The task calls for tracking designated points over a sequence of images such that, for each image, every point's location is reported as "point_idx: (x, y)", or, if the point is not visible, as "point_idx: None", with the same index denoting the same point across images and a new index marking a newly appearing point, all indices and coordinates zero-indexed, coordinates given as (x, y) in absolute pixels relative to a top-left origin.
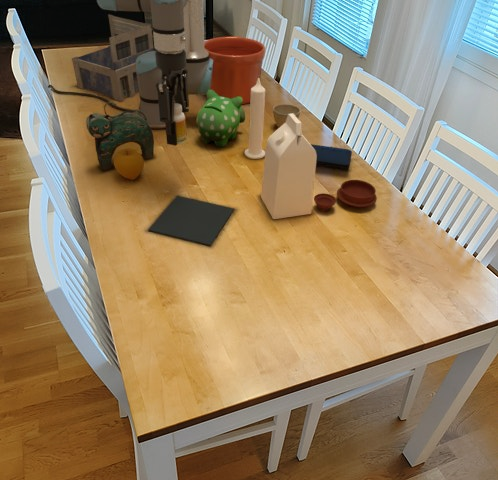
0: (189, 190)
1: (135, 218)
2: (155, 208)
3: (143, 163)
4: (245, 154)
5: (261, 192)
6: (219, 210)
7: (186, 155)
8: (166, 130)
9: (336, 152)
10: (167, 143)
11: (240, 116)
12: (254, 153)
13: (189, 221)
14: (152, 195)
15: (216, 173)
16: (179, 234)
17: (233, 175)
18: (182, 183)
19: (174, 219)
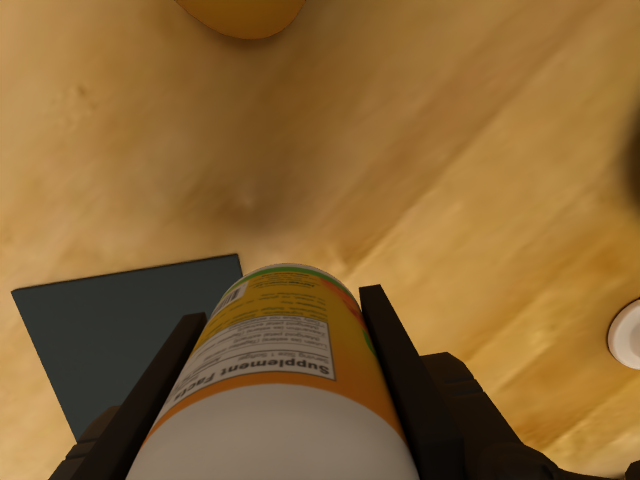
0: None
1: (35, 208)
2: (130, 230)
3: (275, 29)
4: (627, 311)
5: None
6: None
7: (543, 96)
8: (76, 450)
9: None
10: (182, 321)
11: None
12: (635, 348)
13: (136, 371)
14: (191, 167)
15: (454, 284)
16: (63, 383)
17: (467, 339)
18: (328, 217)
19: (112, 329)
